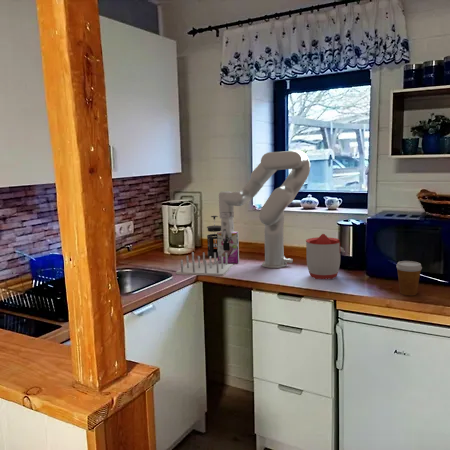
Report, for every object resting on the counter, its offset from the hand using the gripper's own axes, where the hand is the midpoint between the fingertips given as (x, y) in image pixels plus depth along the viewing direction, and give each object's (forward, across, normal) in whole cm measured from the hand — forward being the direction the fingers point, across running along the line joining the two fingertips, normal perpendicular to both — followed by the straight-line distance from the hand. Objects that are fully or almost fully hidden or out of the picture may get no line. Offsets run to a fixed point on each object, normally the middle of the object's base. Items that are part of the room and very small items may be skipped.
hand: (228, 248), depth 241 cm
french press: (+8, +14, +11) cm, 19 cm away
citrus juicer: (+8, -21, -51) cm, 56 cm away
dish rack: (+8, -16, +8) cm, 19 cm away
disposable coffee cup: (+8, -41, -84) cm, 94 cm away
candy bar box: (+8, 0, 0) cm, 8 cm away
